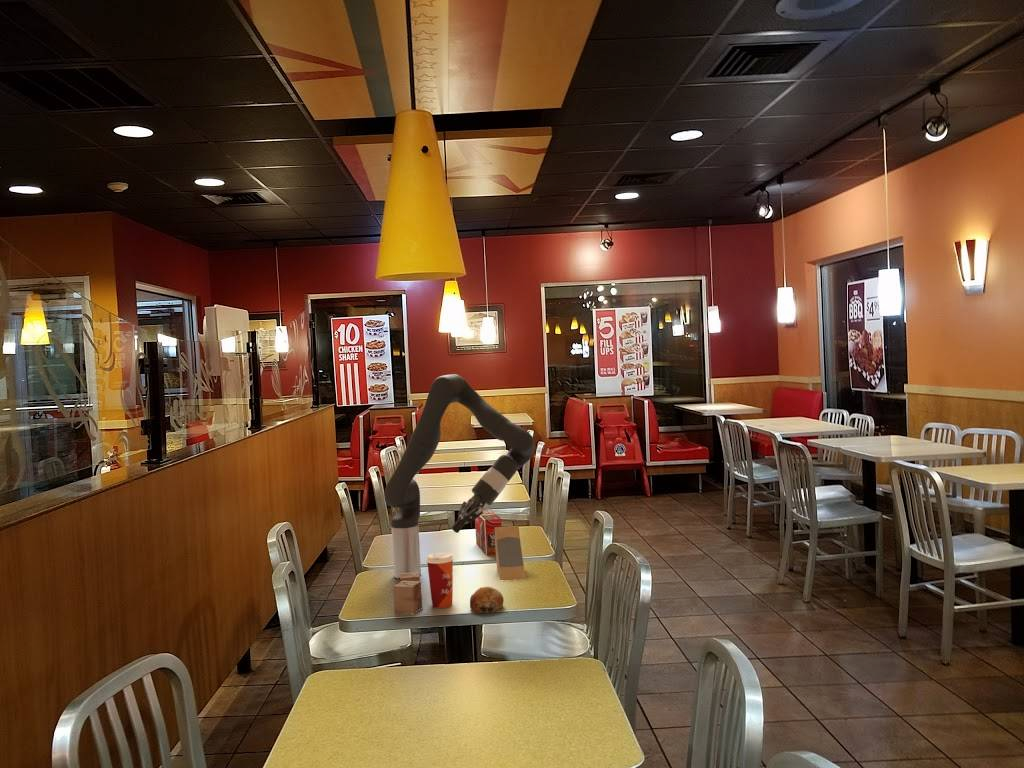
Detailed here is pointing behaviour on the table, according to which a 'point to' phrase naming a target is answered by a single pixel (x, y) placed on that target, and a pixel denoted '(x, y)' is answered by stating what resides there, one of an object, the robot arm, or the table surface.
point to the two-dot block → (410, 576)
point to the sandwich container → (509, 553)
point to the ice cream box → (487, 531)
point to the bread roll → (486, 600)
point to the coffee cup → (441, 579)
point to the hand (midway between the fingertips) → (454, 530)
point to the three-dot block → (407, 597)
